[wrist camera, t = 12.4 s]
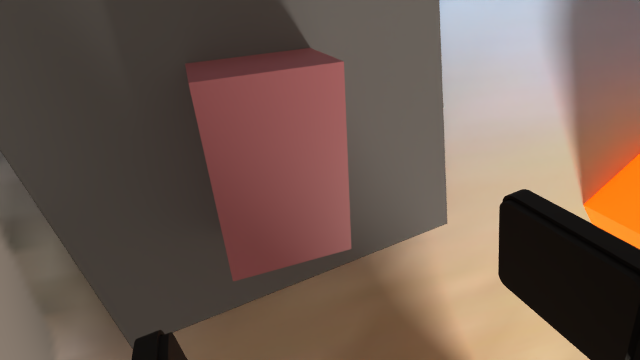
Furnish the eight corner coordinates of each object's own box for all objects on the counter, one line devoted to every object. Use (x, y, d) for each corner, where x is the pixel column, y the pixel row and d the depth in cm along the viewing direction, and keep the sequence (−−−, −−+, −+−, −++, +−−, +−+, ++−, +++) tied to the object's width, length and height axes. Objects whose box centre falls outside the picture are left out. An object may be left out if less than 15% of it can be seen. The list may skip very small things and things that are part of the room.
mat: (441, 218, 26) (447, 223, 25) (133, 340, 22) (132, 348, 21) (426, -113, 17) (434, -117, 16) (-97, -12, 13) (-108, -12, 12)
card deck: (310, 47, 18) (344, 61, 14) (322, 208, 21) (351, 248, 18) (185, 63, 16) (188, 82, 13) (222, 232, 20) (233, 281, 17)
